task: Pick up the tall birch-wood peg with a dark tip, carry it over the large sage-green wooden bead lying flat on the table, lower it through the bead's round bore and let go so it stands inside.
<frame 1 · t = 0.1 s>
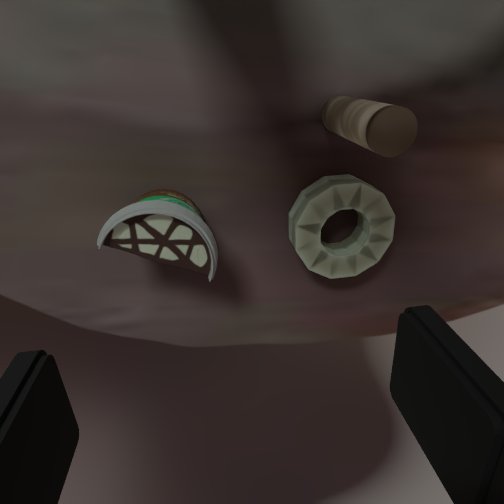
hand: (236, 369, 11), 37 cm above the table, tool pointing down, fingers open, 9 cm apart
peg: (338, 114, 44), on the table
bead: (334, 221, 49), on the table
food container: (172, 205, 46), on the table
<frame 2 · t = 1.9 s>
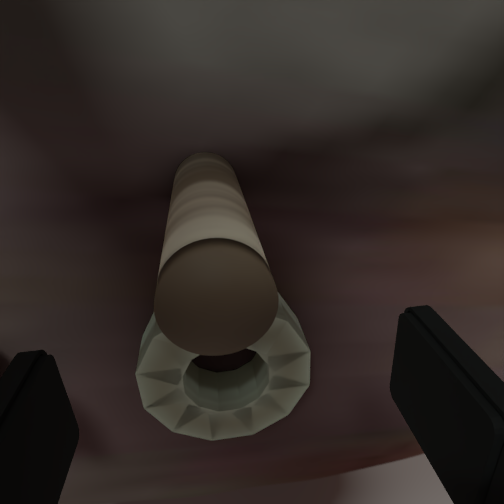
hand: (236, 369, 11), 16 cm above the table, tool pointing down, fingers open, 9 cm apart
peg: (205, 183, 25), on the table
bead: (222, 342, 31), on the table
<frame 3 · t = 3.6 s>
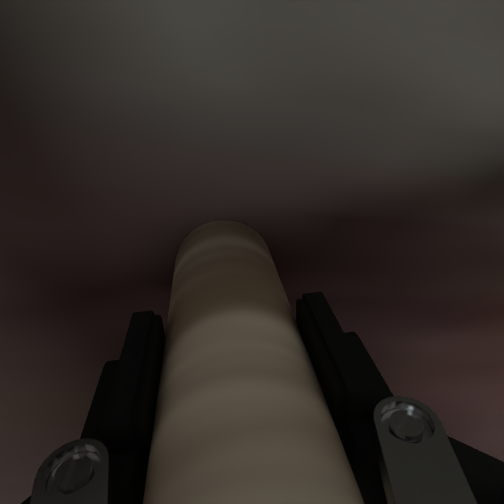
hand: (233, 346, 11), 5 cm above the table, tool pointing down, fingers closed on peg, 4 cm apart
peg: (223, 264, 16), on the table, touching gripper
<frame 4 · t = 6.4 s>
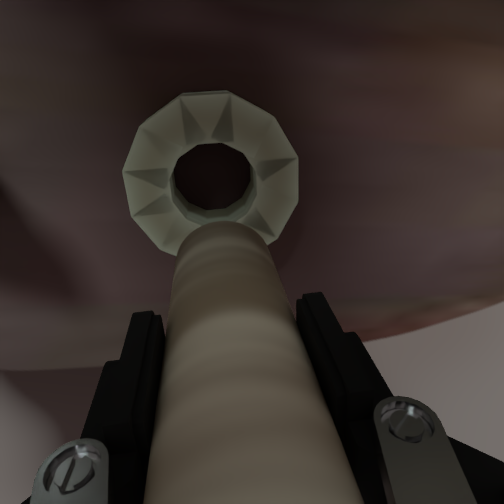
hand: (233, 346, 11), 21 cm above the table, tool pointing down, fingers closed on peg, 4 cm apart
peg: (223, 265, 16), point 16 cm above the table, touching gripper
bead: (212, 173, 31), on the table
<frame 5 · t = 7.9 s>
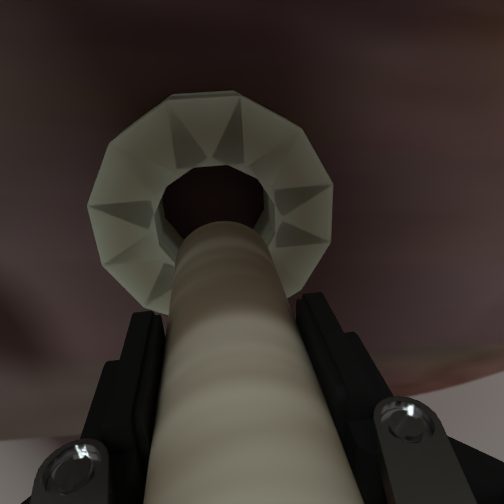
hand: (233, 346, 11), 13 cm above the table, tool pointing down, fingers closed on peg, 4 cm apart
peg: (223, 265, 16), point 8 cm above the table, touching gripper
bead: (213, 200, 23), on the table
when the fingers open (7 cm above the table, at t = 9.4 s): peg drops 1 cm, resting in bead.
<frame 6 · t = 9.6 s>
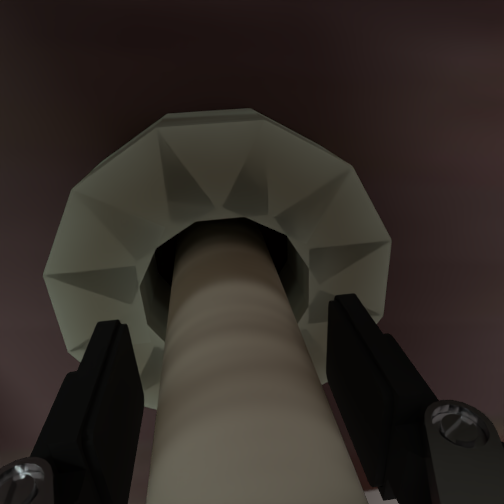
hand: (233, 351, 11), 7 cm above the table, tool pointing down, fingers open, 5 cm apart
peg: (221, 250, 18), resting in bead
bead: (222, 250, 18), on the table
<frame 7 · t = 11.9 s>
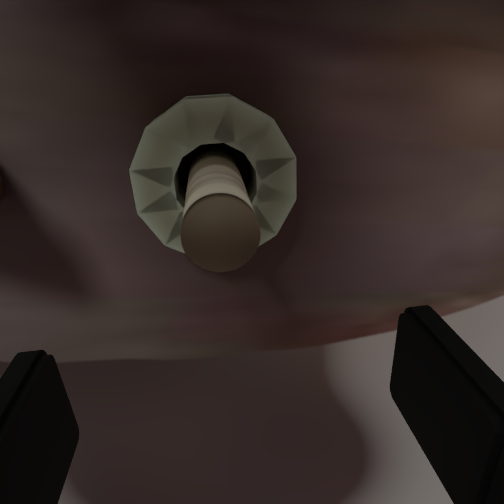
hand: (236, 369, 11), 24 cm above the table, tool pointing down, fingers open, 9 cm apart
peg: (214, 172, 32), resting in bead
bead: (214, 172, 32), on the table
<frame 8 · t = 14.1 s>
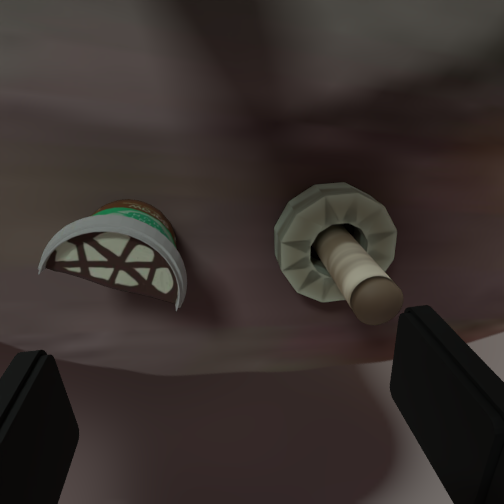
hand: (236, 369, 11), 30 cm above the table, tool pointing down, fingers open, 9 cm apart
peg: (327, 235, 43), resting in bead
bead: (327, 235, 43), on the table
food container: (139, 217, 40), on the table
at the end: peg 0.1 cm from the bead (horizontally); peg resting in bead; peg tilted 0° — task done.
